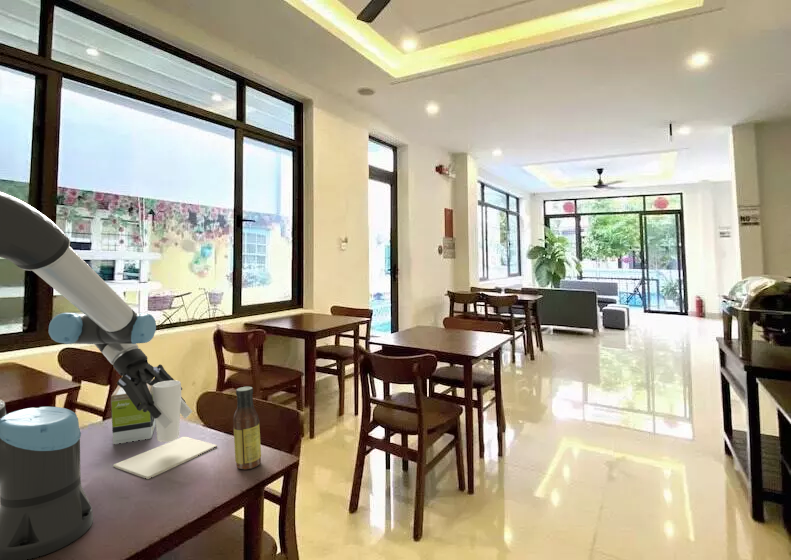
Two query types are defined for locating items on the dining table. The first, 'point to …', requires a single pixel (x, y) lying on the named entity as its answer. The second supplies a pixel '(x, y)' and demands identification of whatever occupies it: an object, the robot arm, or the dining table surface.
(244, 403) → the sauce bottle
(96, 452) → the dining table surface
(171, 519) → the dining table surface
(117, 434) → the tea box
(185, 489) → the dining table surface
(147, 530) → the dining table surface
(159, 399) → the white cup
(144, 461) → the placemat
